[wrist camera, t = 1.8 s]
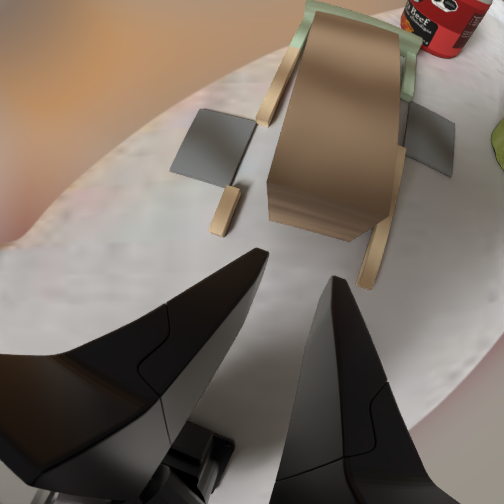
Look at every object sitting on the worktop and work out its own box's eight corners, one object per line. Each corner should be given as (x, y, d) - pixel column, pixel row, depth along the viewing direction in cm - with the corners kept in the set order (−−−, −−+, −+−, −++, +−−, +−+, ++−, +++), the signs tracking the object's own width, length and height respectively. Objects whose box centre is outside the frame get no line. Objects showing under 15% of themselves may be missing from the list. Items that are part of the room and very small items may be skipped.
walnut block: (348, 242, 21) (389, 216, 13) (269, 220, 21) (266, 181, 14) (372, 93, 22) (398, 34, 14) (307, 76, 23) (315, 10, 15)
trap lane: (422, 309, 20) (442, 311, 17) (152, 212, 22) (136, 201, 19) (452, 75, 22) (464, 60, 19) (261, 10, 24) (260, -10, 21)
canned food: (391, 12, 23) (413, -53, 13) (444, 27, 23) (473, -27, 12) (408, 50, 23) (442, -21, 12) (465, 67, 22) (506, 10, 11)
